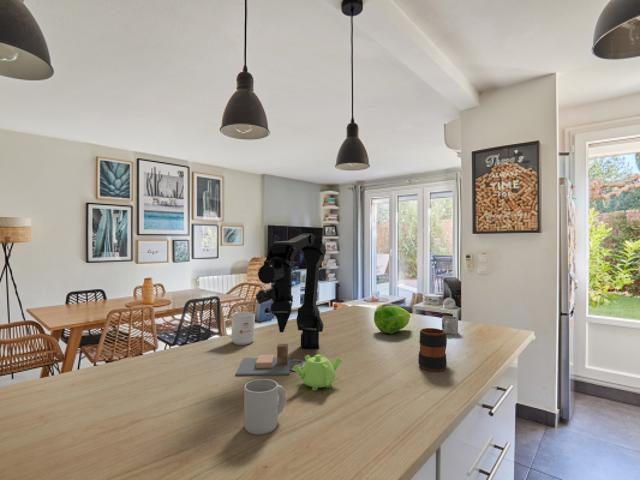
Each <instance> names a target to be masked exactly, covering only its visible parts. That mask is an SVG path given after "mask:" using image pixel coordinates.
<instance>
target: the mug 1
mask: <svg viewBox="0 0 640 480" xmlns="http://www.w3.org/2000/svg"><path fill="white" fill-rule="evenodd" d="M255 320H256V319H255V312H251V311H239V312H238V311H237V312H234V313H232V314H231V318H226V319H224V320H223V332H224V334H225V336H227V337H228V338H230V339H231V342H232V343H233V344H234V345H236V346H237V345H239V346H245V345H249V344H252V343H253V342H254V341H255V323H256V322H255ZM228 321H231V335H229V334H228V333H227V326H226V325H227V322H228Z"/></svg>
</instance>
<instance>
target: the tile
mask: <svg viewBox="0 0 640 480" xmlns="http://www.w3.org/2000/svg"><path fill="white" fill-rule="evenodd" d="M257 358H258V359H257V361H256V368H272V366H273V362H274V358H275V354H266V355H265V354H261V355H260V354H259V355H258V357H257Z"/></svg>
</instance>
